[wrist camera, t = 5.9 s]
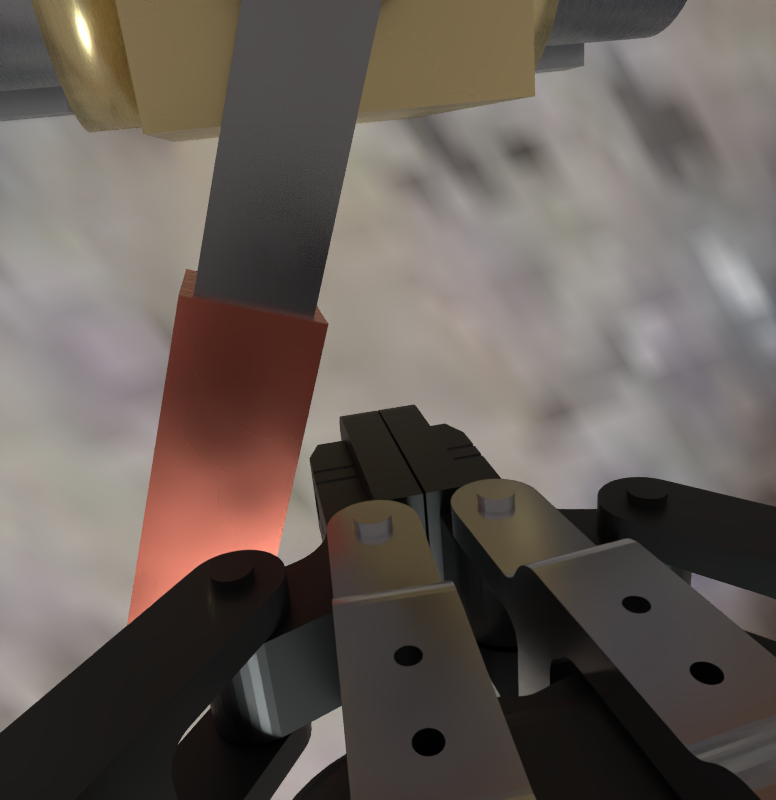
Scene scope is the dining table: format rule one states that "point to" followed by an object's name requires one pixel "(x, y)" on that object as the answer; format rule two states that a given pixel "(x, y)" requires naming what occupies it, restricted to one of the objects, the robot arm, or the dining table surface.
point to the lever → (255, 290)
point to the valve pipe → (214, 42)
